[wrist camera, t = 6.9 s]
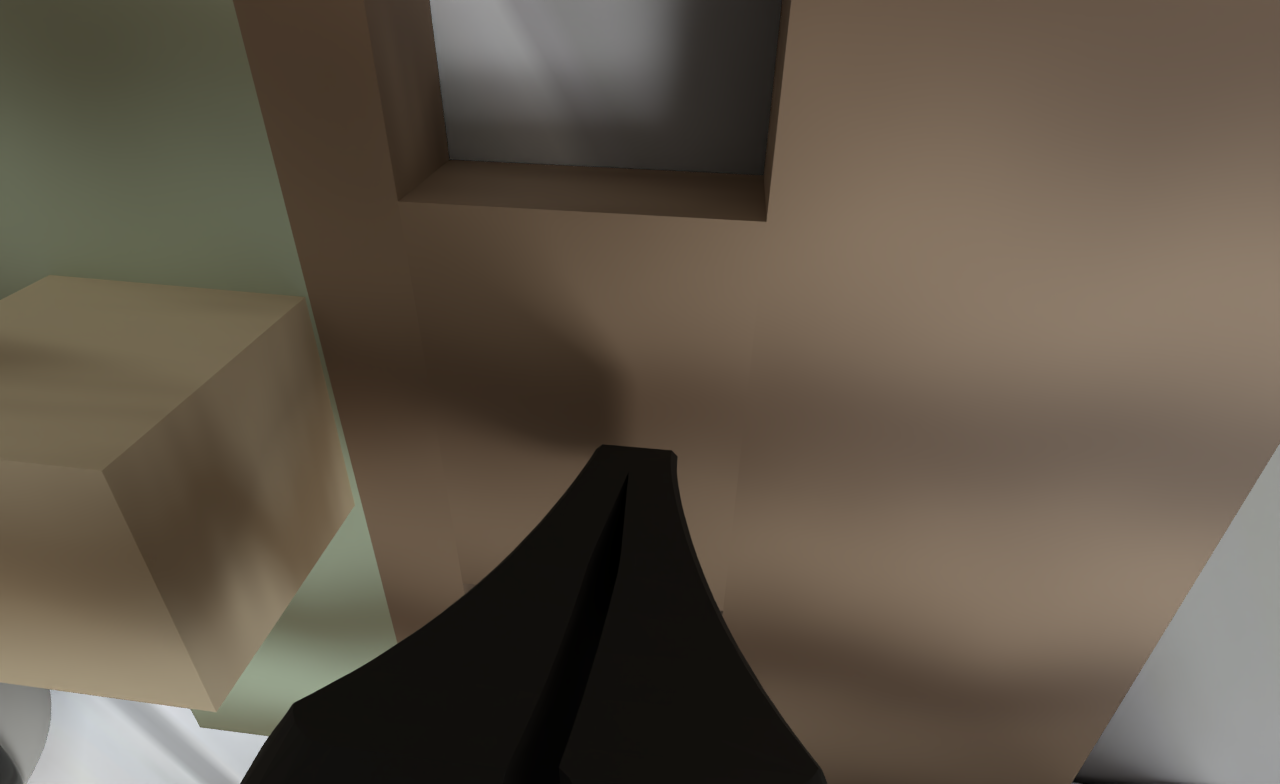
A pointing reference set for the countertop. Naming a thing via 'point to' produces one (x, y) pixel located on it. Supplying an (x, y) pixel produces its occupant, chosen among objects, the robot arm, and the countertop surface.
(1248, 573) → the countertop surface
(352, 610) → the trap board
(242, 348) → the maple cube
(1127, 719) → the countertop surface
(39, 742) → the pump dispenser
